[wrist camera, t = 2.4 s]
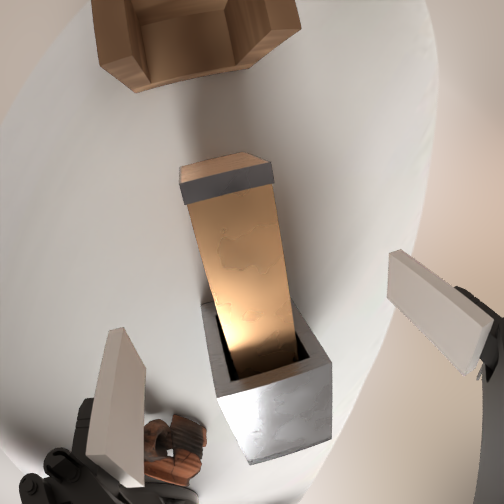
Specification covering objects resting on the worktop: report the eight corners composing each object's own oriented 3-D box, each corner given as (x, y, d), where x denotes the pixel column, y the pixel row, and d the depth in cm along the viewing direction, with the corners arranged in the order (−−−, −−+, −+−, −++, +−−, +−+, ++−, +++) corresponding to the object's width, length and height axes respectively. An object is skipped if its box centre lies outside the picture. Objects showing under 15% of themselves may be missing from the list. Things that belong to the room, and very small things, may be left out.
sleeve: (228, 381, 29) (249, 465, 20) (200, 304, 25) (216, 398, 16) (293, 362, 30) (331, 438, 21) (280, 282, 26) (332, 362, 17)
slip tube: (242, 384, 27) (257, 435, 22) (179, 166, 18) (179, 183, 13) (285, 371, 27) (307, 419, 22) (243, 151, 19) (270, 162, 14)
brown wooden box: (135, 93, 18) (99, 66, 9) (123, 26, 15) (88, -37, 6) (248, 68, 19) (301, 28, 10) (234, 3, 16) (274, -66, 7)
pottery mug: (221, 436, 34) (206, 492, 28) (158, 422, 37) (142, 472, 31) (187, 407, 26) (165, 482, 20) (112, 388, 29) (88, 451, 23)
